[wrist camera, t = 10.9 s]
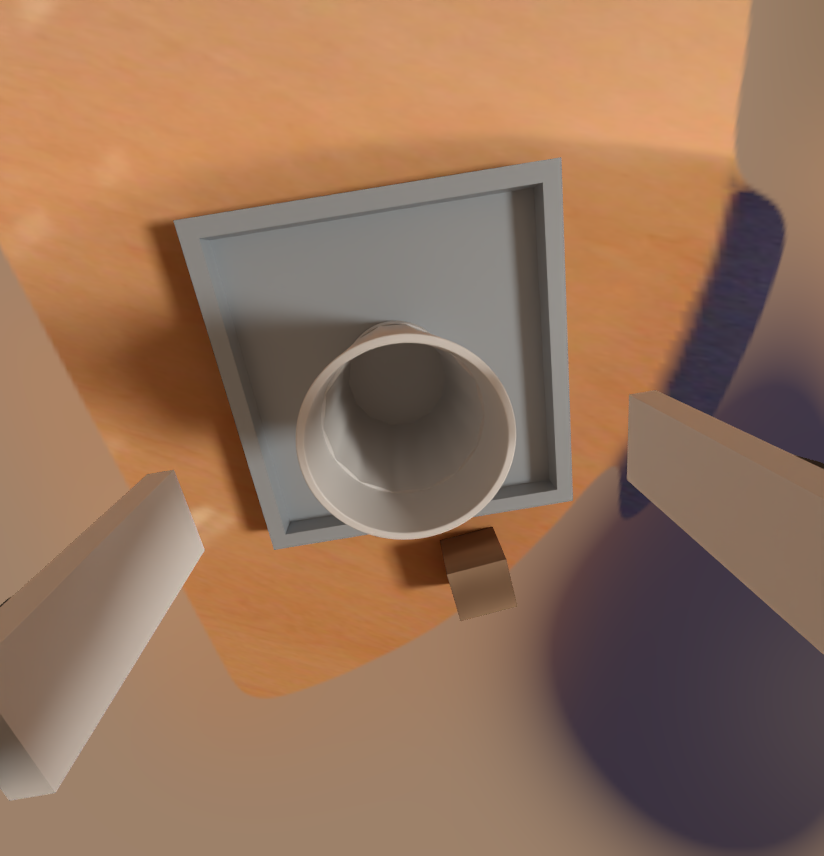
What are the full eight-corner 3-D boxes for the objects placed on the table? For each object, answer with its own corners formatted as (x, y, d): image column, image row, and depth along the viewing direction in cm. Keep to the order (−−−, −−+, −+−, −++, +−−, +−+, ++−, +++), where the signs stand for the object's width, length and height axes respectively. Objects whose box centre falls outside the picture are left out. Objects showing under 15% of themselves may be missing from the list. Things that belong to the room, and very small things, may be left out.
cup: (334, 434, 28) (302, 542, 17) (328, 305, 26) (286, 332, 14) (457, 433, 29) (506, 537, 18) (464, 306, 26) (527, 334, 15)
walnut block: (439, 540, 33) (446, 574, 29) (492, 526, 33) (506, 559, 29) (452, 582, 34) (460, 621, 30) (502, 569, 34) (517, 606, 30)
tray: (193, 225, 25) (173, 220, 23) (544, 168, 25) (561, 157, 23) (282, 529, 32) (274, 549, 29) (559, 483, 32) (572, 500, 29)
